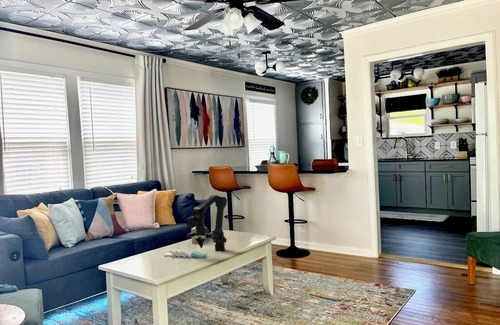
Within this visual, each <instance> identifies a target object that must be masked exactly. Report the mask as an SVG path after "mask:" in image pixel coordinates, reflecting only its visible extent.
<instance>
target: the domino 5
mask: <svg viewBox="0 0 500 325" xmlns="http://www.w3.org/2000/svg"><path fill="white" fill-rule="evenodd" d="M206 255H207V254H206V253H204V252H203V253H202V252H199V251H193V252H192V253H191V256H195V257H199V258H204V257H206Z"/></svg>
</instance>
